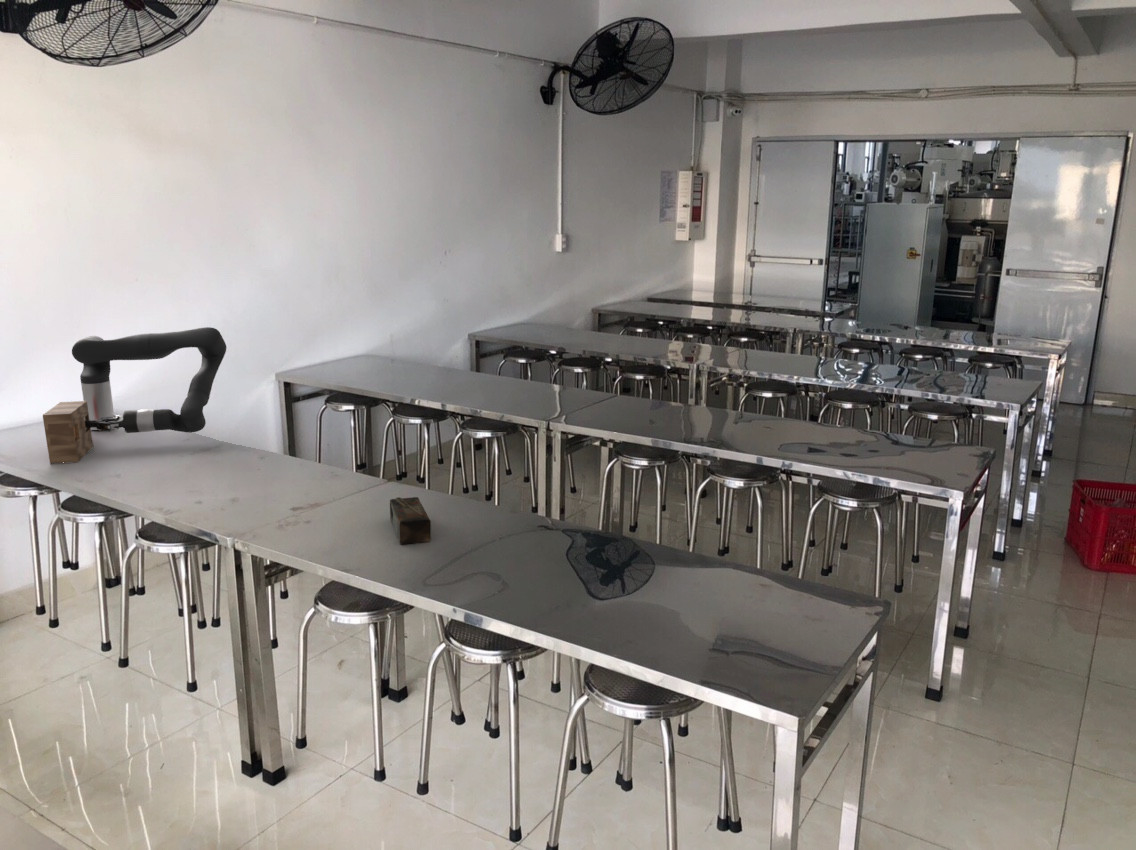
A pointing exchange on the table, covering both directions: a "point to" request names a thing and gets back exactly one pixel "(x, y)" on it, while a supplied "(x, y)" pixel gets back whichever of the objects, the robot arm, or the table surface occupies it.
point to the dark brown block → (410, 520)
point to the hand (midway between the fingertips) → (84, 424)
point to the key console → (67, 432)
